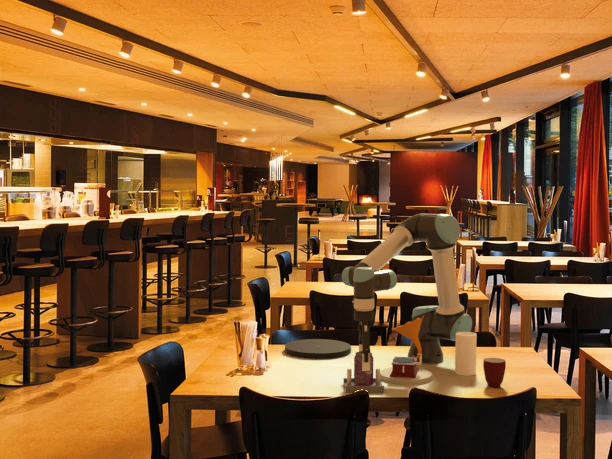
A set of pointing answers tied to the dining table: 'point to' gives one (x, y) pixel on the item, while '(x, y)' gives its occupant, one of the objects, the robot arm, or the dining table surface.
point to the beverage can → (362, 376)
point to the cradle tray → (373, 388)
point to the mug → (494, 371)
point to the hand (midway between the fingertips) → (364, 366)
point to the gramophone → (407, 360)
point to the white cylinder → (465, 353)
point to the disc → (317, 349)
